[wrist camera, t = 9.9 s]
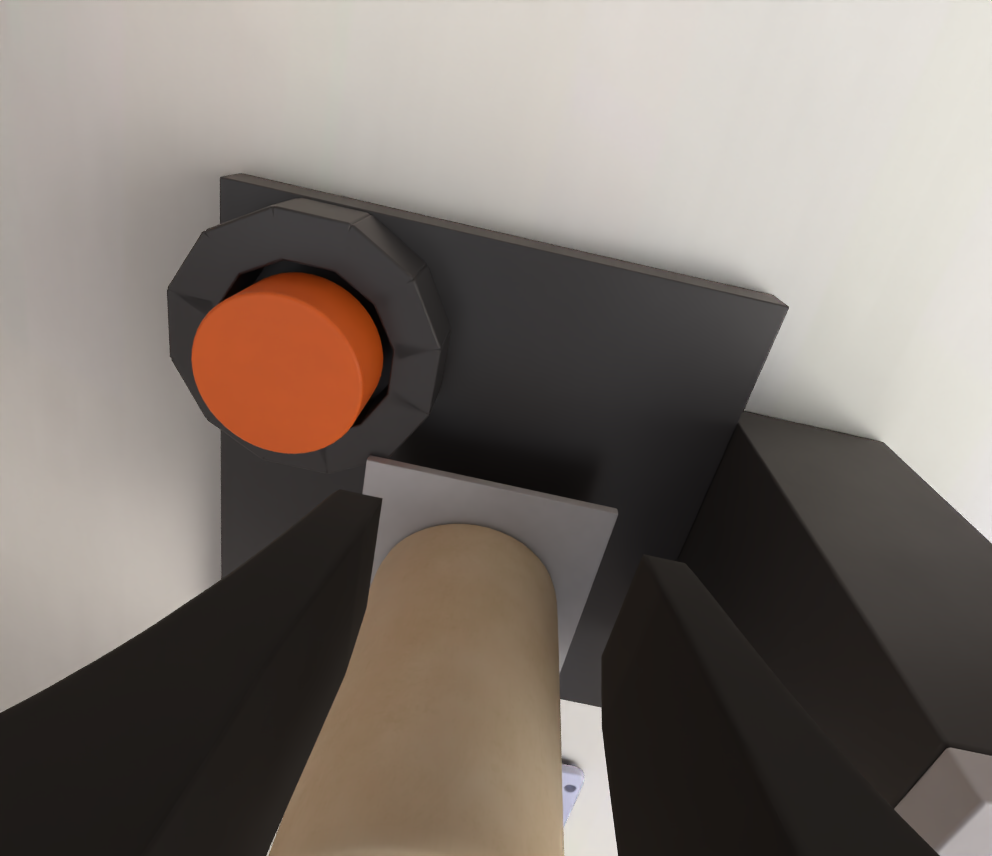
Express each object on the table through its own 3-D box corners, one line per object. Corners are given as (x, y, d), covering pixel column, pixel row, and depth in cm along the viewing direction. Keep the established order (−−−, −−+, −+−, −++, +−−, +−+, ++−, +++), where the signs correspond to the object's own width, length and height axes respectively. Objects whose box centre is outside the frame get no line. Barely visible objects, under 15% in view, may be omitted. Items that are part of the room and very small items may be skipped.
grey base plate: (608, 684, 24) (616, 754, 21) (224, 604, 23) (183, 665, 21) (774, 295, 17) (818, 327, 14) (223, 169, 16) (160, 177, 14)
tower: (749, 675, 23) (924, 1145, 12) (366, 595, 23) (209, 1011, 12) (884, 441, 18) (1354, 878, 8) (404, 334, 18) (199, 641, 7)
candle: (409, 492, 17) (252, 921, 8) (589, 563, 17) (638, 1035, 8) (352, 625, 19) (181, 1069, 10) (511, 682, 20) (484, 1147, 11)
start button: (374, 432, 17) (353, 470, 15) (230, 401, 16) (192, 435, 15) (393, 291, 15) (371, 314, 13) (231, 255, 15) (187, 273, 13)
